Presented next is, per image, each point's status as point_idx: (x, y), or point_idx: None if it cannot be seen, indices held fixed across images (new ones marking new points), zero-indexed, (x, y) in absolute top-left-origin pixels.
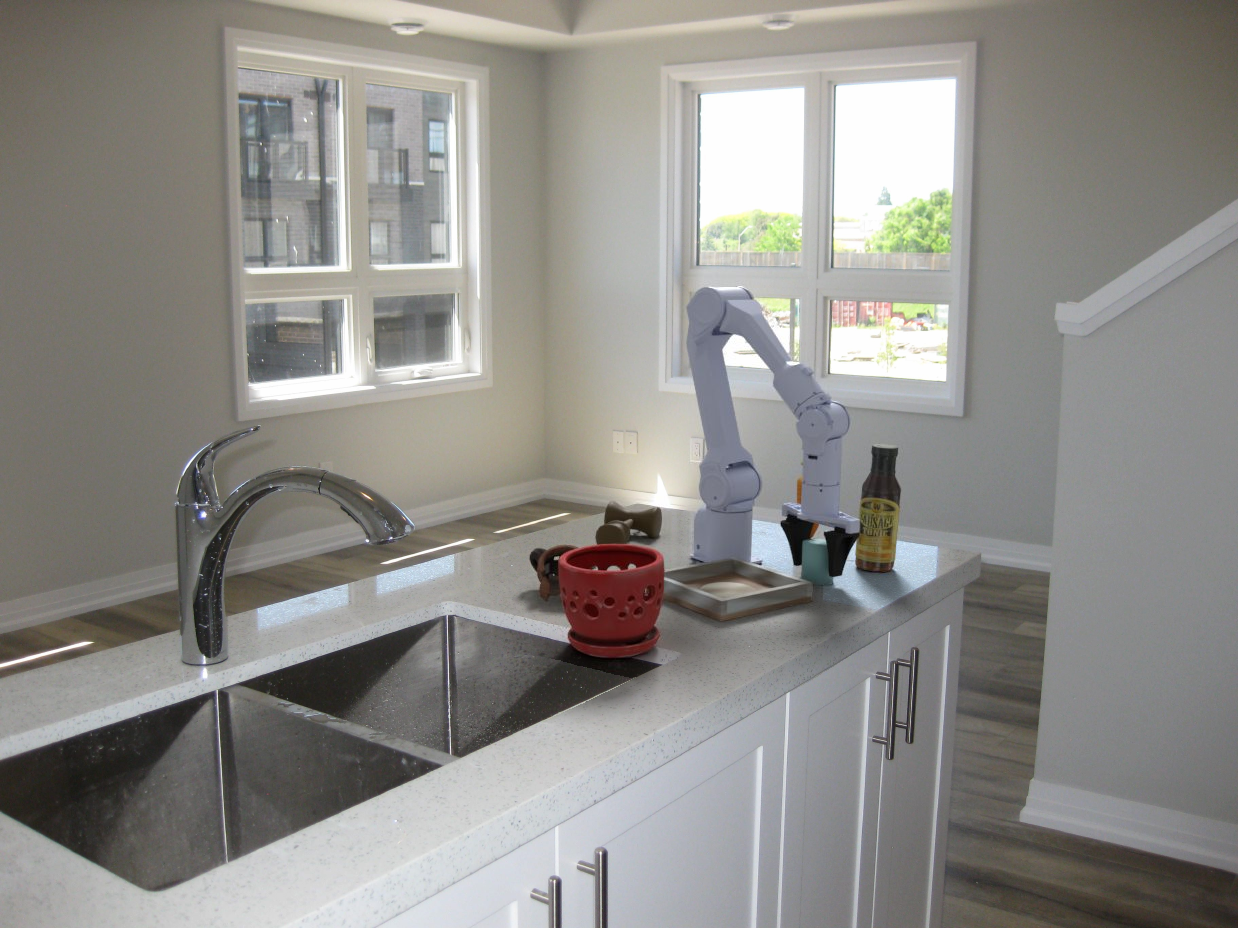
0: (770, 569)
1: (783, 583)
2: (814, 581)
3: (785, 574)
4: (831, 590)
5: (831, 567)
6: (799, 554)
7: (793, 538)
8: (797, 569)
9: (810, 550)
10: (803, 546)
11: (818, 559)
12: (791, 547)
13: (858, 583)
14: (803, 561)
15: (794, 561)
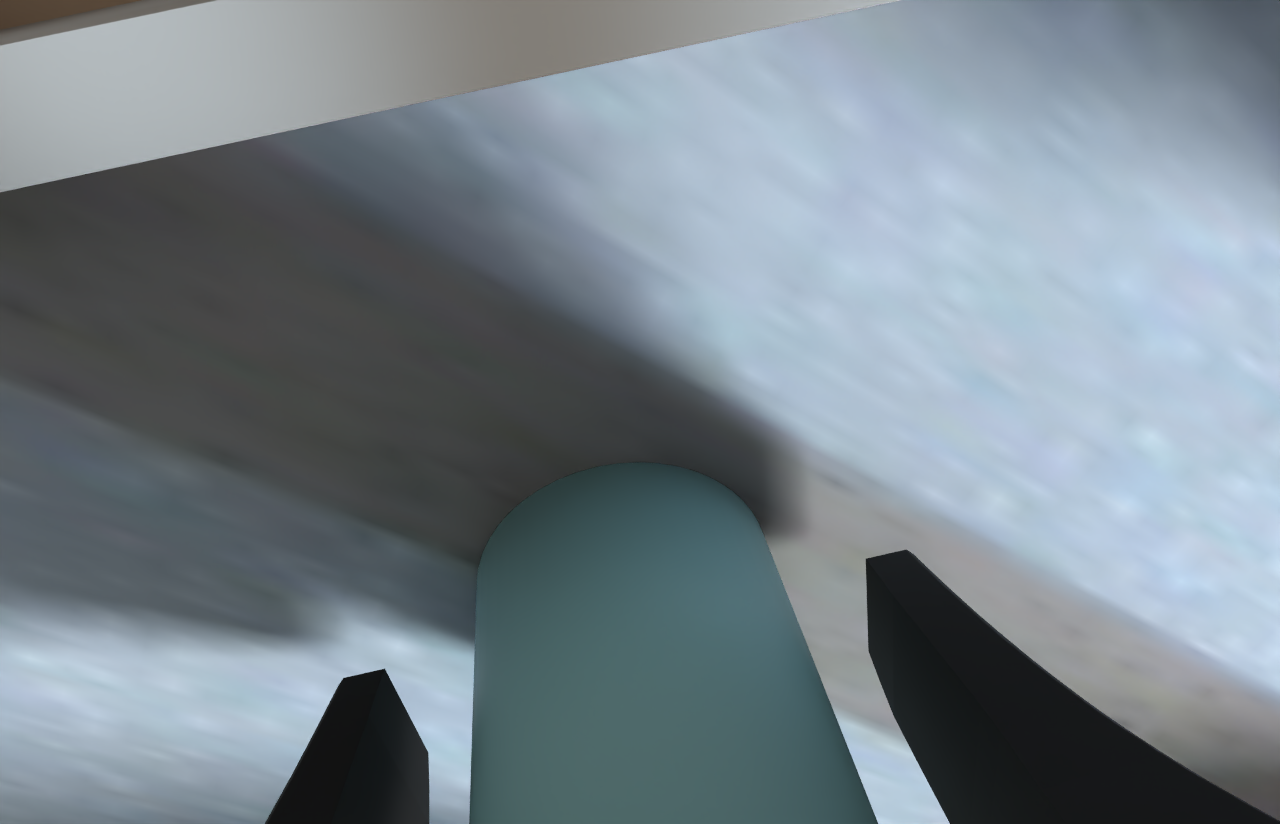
0: (597, 25)
1: (156, 3)
2: (514, 532)
3: (183, 102)
4: (274, 559)
5: (307, 762)
6: (919, 681)
7: (1051, 819)
8: (993, 583)
9: (580, 801)
10: (755, 795)
11: (497, 755)
12: (1020, 685)
13: (430, 788)
14: (690, 620)
15: (903, 577)
